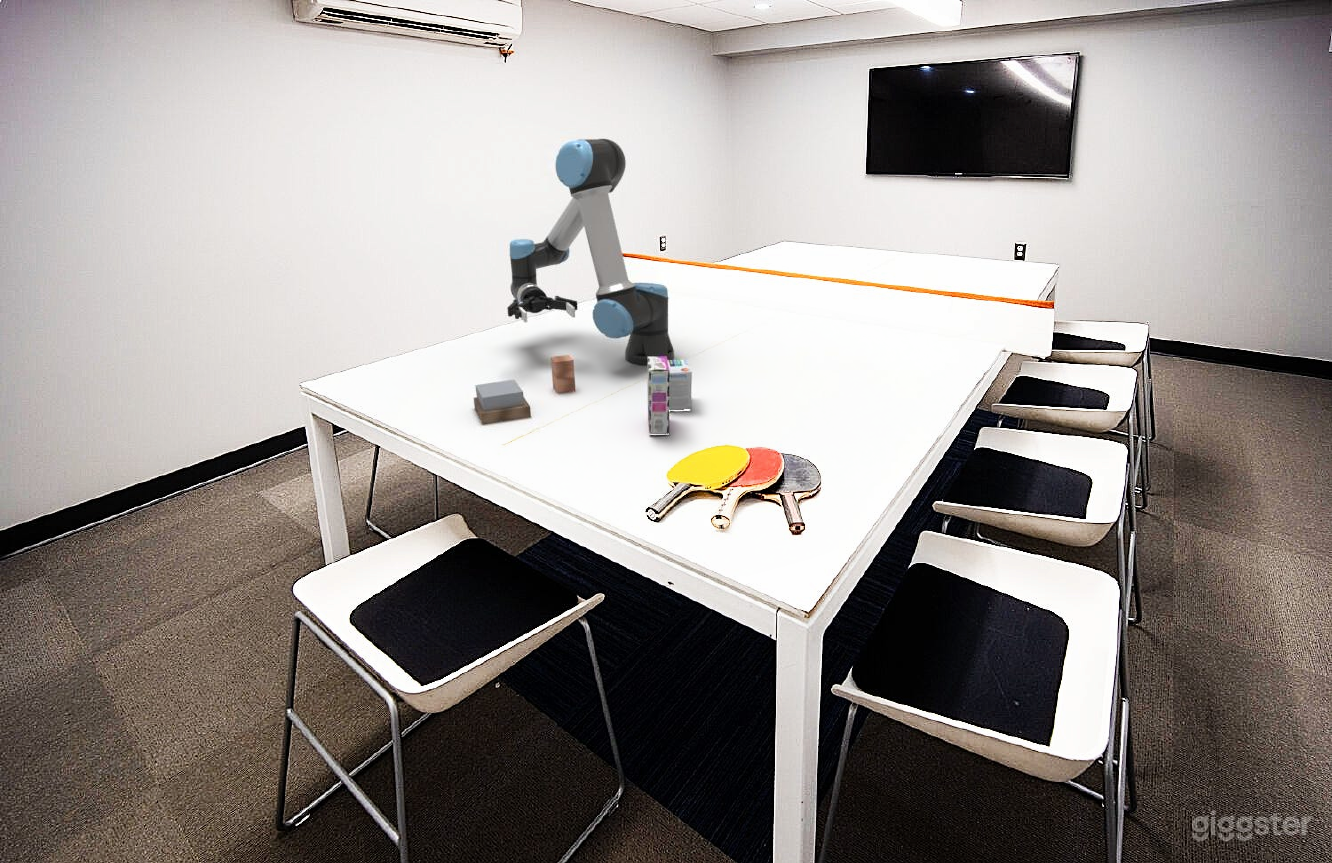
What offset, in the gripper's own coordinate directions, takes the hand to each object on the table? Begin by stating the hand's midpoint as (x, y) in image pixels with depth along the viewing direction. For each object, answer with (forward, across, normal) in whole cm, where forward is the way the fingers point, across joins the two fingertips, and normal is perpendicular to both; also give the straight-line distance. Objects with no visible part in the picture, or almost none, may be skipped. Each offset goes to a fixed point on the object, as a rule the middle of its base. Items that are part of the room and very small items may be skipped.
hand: (549, 315), depth 202 cm
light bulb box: (+33, -24, -18) cm, 45 cm away
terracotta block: (+10, 0, -19) cm, 21 cm away
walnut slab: (+20, +19, -19) cm, 34 cm away
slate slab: (+20, +19, -16) cm, 31 cm away
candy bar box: (+45, -14, -18) cm, 51 cm away
